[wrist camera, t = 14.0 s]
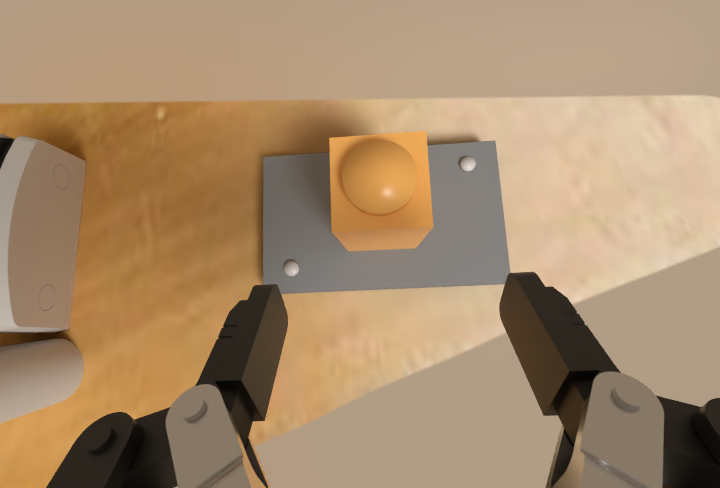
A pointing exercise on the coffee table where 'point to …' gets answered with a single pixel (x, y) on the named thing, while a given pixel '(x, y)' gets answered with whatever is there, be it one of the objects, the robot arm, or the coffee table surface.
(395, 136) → the orange dome-topped block
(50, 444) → the coffee table surface
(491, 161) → the riveted grey base plate
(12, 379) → the grey mounting bracket
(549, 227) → the coffee table surface
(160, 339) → the coffee table surface
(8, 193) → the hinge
